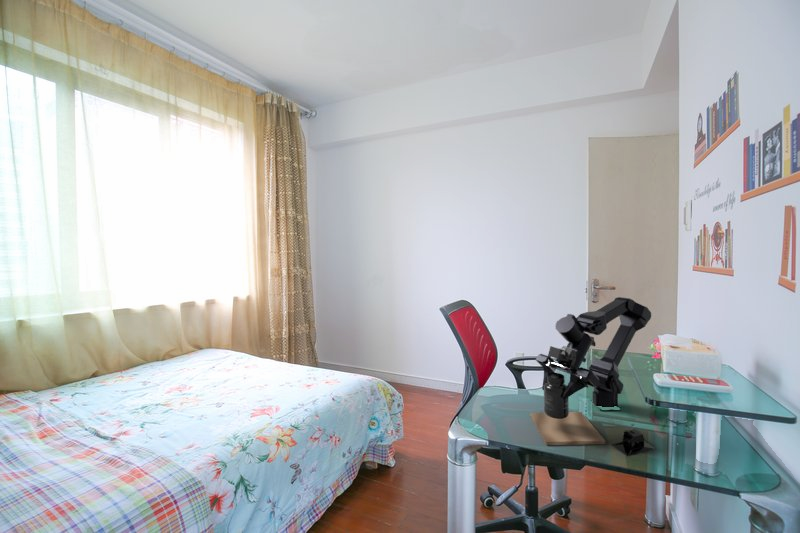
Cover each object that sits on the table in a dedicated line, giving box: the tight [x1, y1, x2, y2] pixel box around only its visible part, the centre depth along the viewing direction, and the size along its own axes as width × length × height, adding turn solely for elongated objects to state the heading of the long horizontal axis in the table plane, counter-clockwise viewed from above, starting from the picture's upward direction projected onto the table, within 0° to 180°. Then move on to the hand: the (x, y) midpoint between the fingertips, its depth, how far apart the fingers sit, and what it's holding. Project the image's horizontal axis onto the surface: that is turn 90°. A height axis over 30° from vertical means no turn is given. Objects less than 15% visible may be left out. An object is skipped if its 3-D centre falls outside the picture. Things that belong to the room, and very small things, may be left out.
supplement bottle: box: [543, 372, 570, 419], centre depth 111 cm, size 7×7×12 cm
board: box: [530, 411, 606, 446], centre depth 112 cm, size 16×16×1 cm
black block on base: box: [611, 428, 657, 457], centre depth 101 cm, size 12×7×5 cm, turn 104°
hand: (552, 394), depth 110 cm, fingers closed on supplement bottle, 7 cm apart
